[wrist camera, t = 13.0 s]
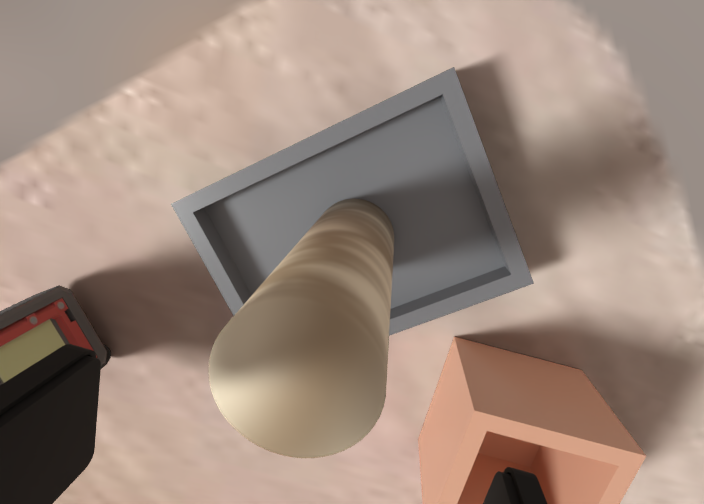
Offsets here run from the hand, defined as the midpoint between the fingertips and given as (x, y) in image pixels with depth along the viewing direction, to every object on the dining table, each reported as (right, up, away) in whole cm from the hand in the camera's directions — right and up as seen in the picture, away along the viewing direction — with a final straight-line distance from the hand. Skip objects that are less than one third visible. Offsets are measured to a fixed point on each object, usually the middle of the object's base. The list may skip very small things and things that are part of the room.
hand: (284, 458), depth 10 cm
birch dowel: (+2, +6, +17) cm, 18 cm away
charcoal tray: (+2, +6, +18) cm, 20 cm away
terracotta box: (+12, -6, +21) cm, 25 cm away
